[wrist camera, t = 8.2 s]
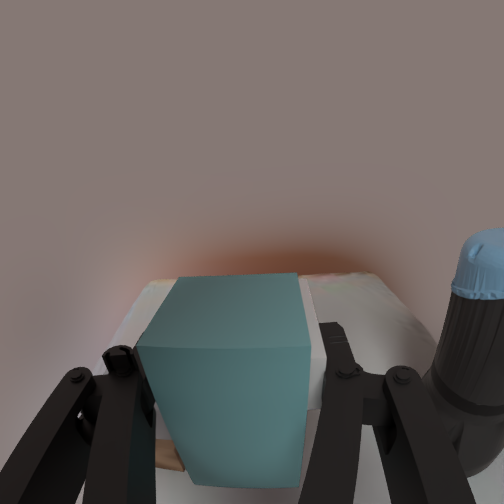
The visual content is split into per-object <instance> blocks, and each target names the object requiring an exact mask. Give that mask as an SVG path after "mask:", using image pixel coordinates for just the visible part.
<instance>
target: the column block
mask: <svg viewBox="0 0 504 504" xmlns="http://www.w3.org/2000/svg"><path fill="white" fill-rule="evenodd" d="M136 347H137V350H138V353H139V356H140V359H141V362H142V365H143V368H144V371H145V374H146V377H147V379H148V382H149V385H150V387H151V390H152V393H153V395H154V398H155V400H156V403H157V405H158V408H159V410H160V413H161V415H162V418H163V420H164V422H165V425H166V427H167V429H168V432H169V434H170V436H171V438H172V440H173V443H174V445H175V447H176V449H177V451H178V453H179V455H180V458H181V460H182V462H183V464H184V466H185V468H186V470H187V472H188V474H189V475H190V477H191V479H192V481H193V483H194V484H196V485H205V486H217V487H232V488H291V487H299V482H300V474H301V466H302V458H303V449H304V439H305V429H306V418H307V406H308V393H309V379H310V363H311V341H310V336H309V330H308V325H307V320H306V315H305V310H304V305H303V300H302V295H301V290H300V285H299V281H298V276H297V273H278V274H277V273H276V274H254V275H228V276H197V277H179V278H178V280H177V281H176V283H175V284H174V286H173V287H172V289H171V290H170V292H169V294H168V295H167V297H166V298H165V300H164V301H163V303H162V304H161V306H160V308H159V309H158V311H157V312H156V314H155V316H154V317H153V319H152V320H151V322H150V323H149V325H148V327H147V328H146V330H145V332H144V333H143V335H142V336H141V338H140V340H139V341H138V343H137V345H136Z"/></svg>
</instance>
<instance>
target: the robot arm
mask: <svg viewBox="0 0 504 504" xmlns="http://www.w3.org/2000/svg"><path fill="white" fill-rule="evenodd" d="M298 281H299V285H300V290H301V295H302V300H303V305H304V310H305V315H306V320H307V325H308V330H309V336H310V341H311V363H310V379H309V393H308V406H307V410H312V409H321V411H320V416H319V421H318V426H317V431H316V435H315V440H314V444H313V448H312V453H311V457H310V461H309V465H308V469H307V473H306V477H305V481H304V484H303V488H302V492H301V495H300V499H299V502H298V504H353V499H354V492H355V485H356V478H357V470H358V461H359V452H360V441H361V429H362V424H364V425H372V427H373V431H374V434H375V438H376V442H377V445H378V449H379V453H380V457H381V461H382V465H383V469H384V473H385V478H386V482H387V486H388V490H389V495H390V499H391V504H476V502H475V499H474V496H473V494H472V491H471V488H470V486H469V483H468V480H467V478H468V477H471V476H473V475H476V474H478V473H479V472H481V471H483V470H484V469H485V468H487V467H488V466H489V465H490V464H491V463H492V462H493V461H494V459H495V458H496V457H497V456H498V455H499V453H500V452H501V451H502V449H503V448H504V228H494V229H488V230H483V231H480V232H477V233H475V234H474V235H472V236H471V237H469V238H468V239H467V241H466V242H465V243H464V245H463V247H462V249H461V253H460V257H459V262H458V266H457V271H456V275H455V278H454V279H453V281H452V284H451V287H452V288H451V289H452V293H451V297H450V302H449V306H448V310H447V315H446V318H445V322H444V326H443V330H442V333H441V337H440V341H439V344H438V347H437V350H436V354H435V357H434V360H433V363H432V366H431V368H430V369H429V370H428V371H427V373H426V374H425V375H424V376H423V378H422V379H421V378H420V376H419V374H418V373H417V372H416V371H415V370H414V369H412V368H410V367H407V366H395V367H392V368H390V369H389V370H388V371H387V373H386V375H378V374H371V373H367V372H365V371H363V368H362V367H361V366H360V365H359V364H357V363H355V360H354V357H353V354H352V351H351V348H350V346H349V343H348V340H347V337H346V335H345V332H344V329H343V327H341V326H340V325H339V324H338V323H337V322H330V323H318V320H317V316H316V312H315V309H314V305H313V301H312V297H311V293H310V290H309V286H308V282H307V278H302V279H298ZM144 332H145V331H144ZM144 332H143V333H144ZM143 333H142V335H143ZM142 335H141V336H142ZM141 336H140V338H141ZM140 338H139V340H140ZM137 343H138V341H137ZM137 343H136V345H137ZM102 358H103V360H104V363H105V365H106V367H107V370H108V372H109V373H108V374H106V375H97V376H93V375H92V373H91V371H90V370H89V369H88V368H85V367H78V368H74V369H72V370H70V371H69V372H68V373H67V374H66V375H65V376H64V377H63V379H62V380H61V381H60V383H59V384H58V385H57V387H56V388H55V390H54V391H53V392H52V394H51V395H50V397H49V398H48V399H47V401H46V402H45V404H44V405H43V407H42V408H41V410H40V411H39V412H38V414H37V416H36V417H35V418H34V420H33V421H32V423H31V424H30V426H29V427H28V429H27V430H26V432H25V433H24V435H23V436H22V438H21V440H20V441H19V443H18V444H17V446H16V447H15V449H14V451H13V452H12V454H11V455H10V457H9V459H8V460H7V462H6V464H5V465H4V467H3V469H2V470H1V472H0V504H75V503H76V500H77V498H78V495H79V493H80V491H81V488H82V486H83V484H84V481H85V487H84V494H83V502H82V504H156V480H155V448H156V410H155V407H154V404H155V402H156V400H155V398H154V395H153V393H152V390H151V387H150V385H149V382H148V379H147V377H146V374H145V371H144V368H143V365H142V362H141V359H140V356H139V353H138V350H137V347H136V346H134V348H133V349H132V348H131V347H128V346H126V345H119V346H114V347H112V348H109V349H108V350H107V351H105V352H104V354H103V355H102ZM321 405H322V406H321ZM79 412H81V413H82V414H81V416H80V417H79V418H78V417H77V416H78V414H79ZM85 479H86V480H85Z"/></svg>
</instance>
